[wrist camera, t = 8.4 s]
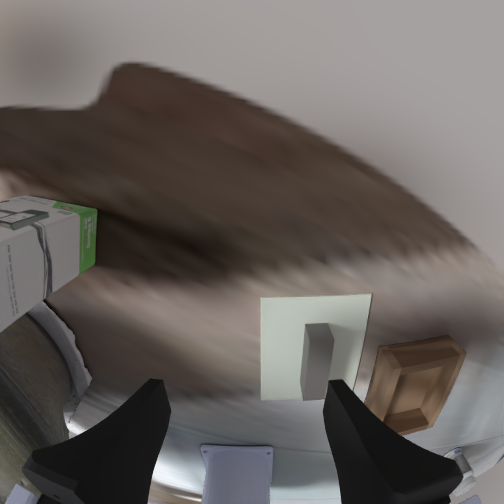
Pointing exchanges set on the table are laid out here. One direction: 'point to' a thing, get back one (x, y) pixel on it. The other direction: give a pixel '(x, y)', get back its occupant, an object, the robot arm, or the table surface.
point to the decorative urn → (36, 390)
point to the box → (413, 382)
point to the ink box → (41, 250)
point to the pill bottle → (465, 469)
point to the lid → (310, 343)
